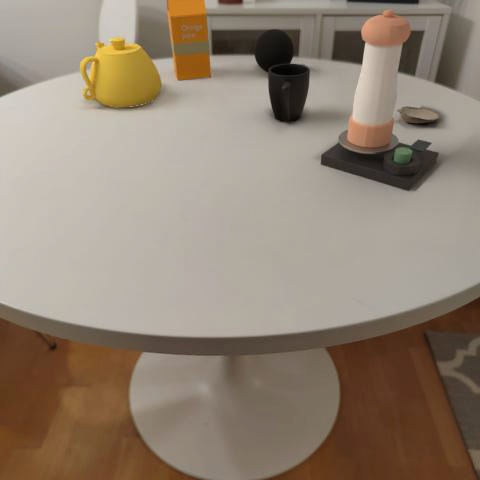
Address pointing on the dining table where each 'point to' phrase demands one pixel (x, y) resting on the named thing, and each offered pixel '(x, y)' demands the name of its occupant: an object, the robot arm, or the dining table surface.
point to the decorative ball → (273, 49)
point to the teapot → (120, 75)
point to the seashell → (417, 115)
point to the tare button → (403, 155)
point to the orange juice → (189, 38)
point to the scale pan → (393, 143)
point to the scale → (381, 165)
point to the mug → (288, 90)
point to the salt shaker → (378, 80)
